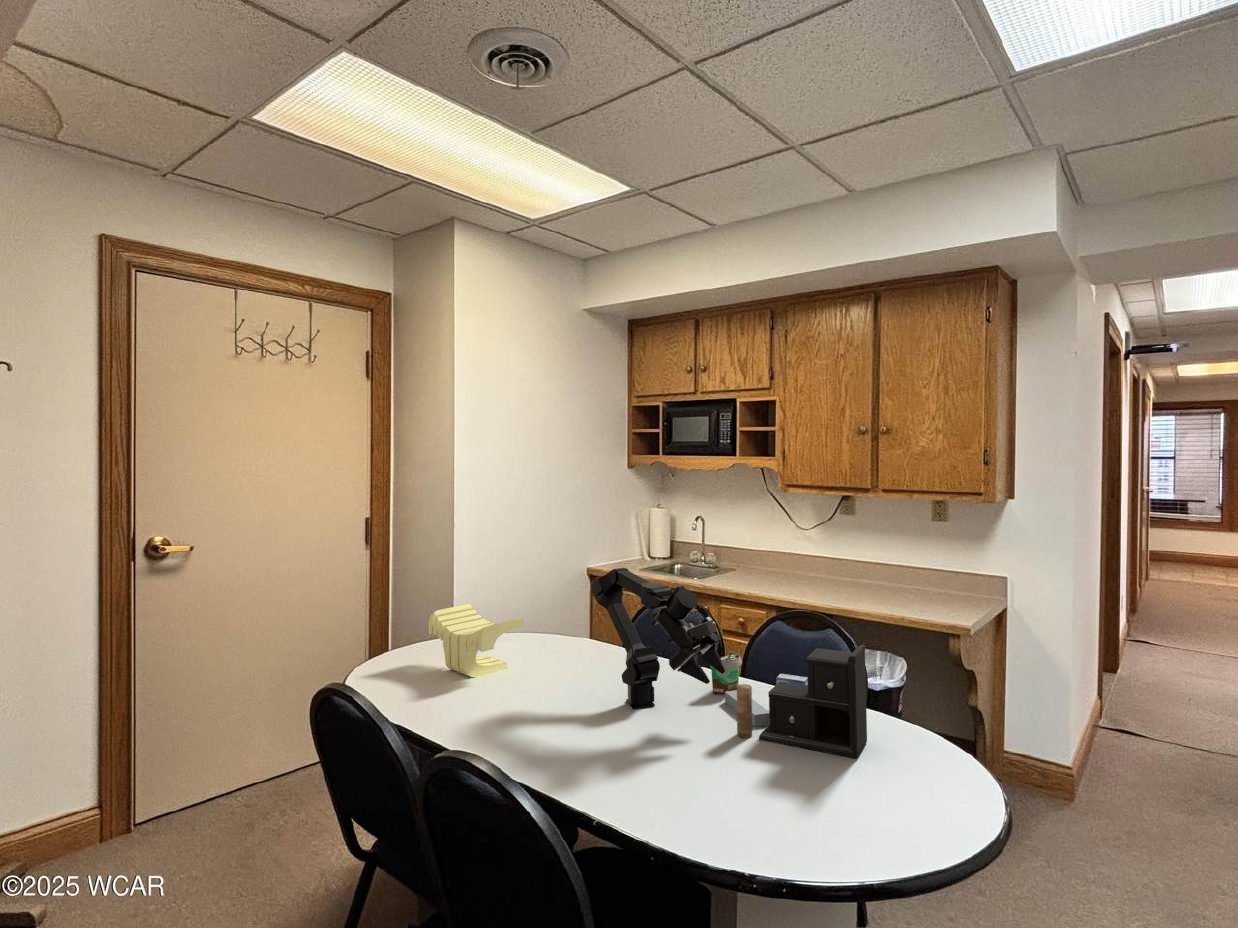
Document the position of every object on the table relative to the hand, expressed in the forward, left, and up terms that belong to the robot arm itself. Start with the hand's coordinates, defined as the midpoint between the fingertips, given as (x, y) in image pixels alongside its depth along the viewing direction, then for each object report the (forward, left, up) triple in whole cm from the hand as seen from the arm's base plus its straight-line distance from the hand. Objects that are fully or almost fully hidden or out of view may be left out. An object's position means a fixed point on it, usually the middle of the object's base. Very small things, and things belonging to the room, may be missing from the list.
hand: (716, 677), depth 178 cm
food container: (+15, +25, -13) cm, 32 cm away
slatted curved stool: (-54, +69, -13) cm, 88 cm away
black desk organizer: (+19, -14, -13) cm, 27 cm away
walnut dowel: (+5, -5, -13) cm, 15 cm away
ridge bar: (+12, +8, -13) cm, 19 cm away
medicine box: (+25, +7, -13) cm, 29 cm away
